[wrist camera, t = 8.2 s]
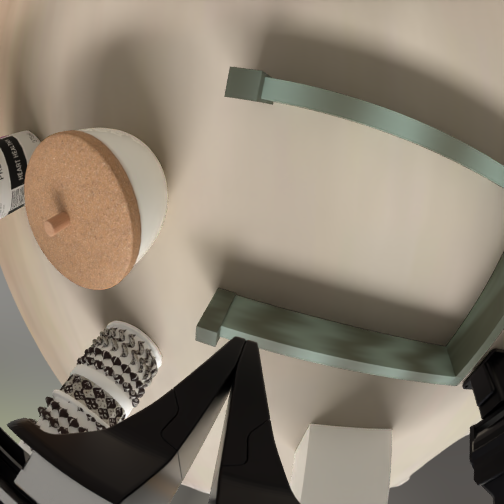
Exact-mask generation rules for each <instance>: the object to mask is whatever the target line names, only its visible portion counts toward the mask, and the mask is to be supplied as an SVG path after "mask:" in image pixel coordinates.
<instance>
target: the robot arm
mask: <svg viewBox="0 0 504 504" xmlns="http://www.w3.org/2000/svg"><path fill="white" fill-rule="evenodd" d="M462 386H463V389H472V390H473V393H474V396H475V400H476V403H477V406H479V410H480V414H481V418H482V419H483V420H481V421H480V422H478V423H477V424H475V425H473V426H471V427H470V464H471V465H472V467H473V469H474V481H475V482H476V483H477V485H481V486H482V487H483V488H484V489H485V490H486V491H487V492H488V493H489V494H491V496H492V497H493V504H504V350H499V349H494V350H492V351H491V352H490V354H489V355H488V356H487V357H486V359H485V360H484V361H483V362H482V363H481V365H480V366H479V367H478V368H477V369H476V370H475V371H474V373H473V374H472V375H471V376H470V377H469V378H468V379H467V380H466V381H465V382H464V384H463V385H462ZM230 390H231V391H230ZM229 392H230V395H229ZM228 395H229V400H228V405H227V410H226V415H225V420H224V425H223V431H222V436H221V441H220V446H219V451H218V456H217V461H216V466H215V471H214V476H213V482H212V487H211V492H210V497H209V502H208V504H300V502H299V501H298V500H297V498H296V497H295V495H294V494H293V492H292V490H291V488H290V485H289V483H288V480H287V477H286V475H285V472H284V469H283V466H282V463H281V460H280V457H279V454H278V451H277V448H276V444H275V440H274V436H273V431H272V426H271V421H270V415H269V409H268V403H267V397H266V391H265V385H264V379H263V373H262V366H261V360H260V354H259V348H258V343H257V342H255V341H251V340H246V339H244V338H241V337H238V336H235V337H233V338H232V339H231V340H230V341H229V342H227V343H226V344H225V345H224V346H223V347H222V348H221V349H219V350H218V351H217V352H216V353H215V354H214V355H212V356H211V357H210V358H209V359H208V360H206V361H205V362H204V363H203V364H202V365H201V366H199V367H198V368H197V369H196V370H195V371H193V372H192V373H191V374H190V375H189V376H187V377H186V378H185V379H184V380H182V381H181V382H180V383H179V384H178V385H176V386H175V387H174V388H173V389H171V390H170V391H169V392H167V393H166V394H165V395H164V396H162V397H161V398H160V399H158V400H157V401H155V402H154V403H152V404H151V405H149V406H148V407H146V408H144V409H143V410H141V411H139V412H137V413H136V414H134V415H132V416H130V417H129V418H127V419H125V420H123V421H121V422H119V423H118V424H116V425H114V426H111V427H109V428H106V429H102V430H97V431H89V432H79V433H68V434H51V433H47V432H45V431H43V430H41V429H40V428H39V427H37V426H36V425H35V424H34V423H32V422H31V421H30V420H29V419H27V418H22V419H17V420H14V421H11V422H10V423H8V424H7V426H8V427H9V428H10V429H11V430H12V431H13V432H14V433H15V434H16V435H17V436H18V437H19V438H20V439H21V440H23V441H24V442H25V443H26V444H27V445H28V446H29V447H31V448H32V449H33V452H32V454H31V455H29V454H28V453H27V452H26V451H25V450H24V449H23V448H21V447H20V446H19V445H18V444H17V443H16V442H15V441H14V440H13V439H12V438H11V437H10V436H9V435H8V434H7V433H6V432H5V431H4V430H3V429H2V428H1V427H0V504H169V503H170V502H171V500H172V498H173V497H174V495H175V493H176V491H177V490H178V488H179V486H180V485H181V483H182V481H183V479H184V477H185V476H186V474H187V472H188V470H189V468H190V467H191V465H192V463H193V461H194V459H195V458H196V456H197V454H198V452H199V450H200V448H201V447H202V445H203V443H204V441H205V439H206V437H207V435H208V433H209V432H210V430H211V428H212V426H213V424H214V422H215V420H216V418H217V416H218V414H219V412H220V410H221V409H222V407H223V405H224V403H225V401H226V399H227V397H228Z"/></svg>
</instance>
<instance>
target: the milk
mask: <svg viewBox="0 0 504 504" xmlns="http://www.w3.org/2000/svg"><path fill="white" fill-rule="evenodd" d="M391 456H392V429H372V428H353V427H340V426H329V425H320V424H312V423H310V425H309V427H308V429H307V431H306V433H305V434H304V436H303V438H302V440H301V442H300V444H299V446H298V447H297V449H296V451H295V455H294V462H293V469H292V476H291V483H290V488H291V490H292V492H293V494H294V495H295V497H296V498H297V500H298V501H299V502H300V504H387V503H388V495H389V494H388V493H389V485H390V473H391Z"/></svg>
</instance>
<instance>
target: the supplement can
mask: <svg viewBox="0 0 504 504" xmlns="http://www.w3.org/2000/svg"><path fill="white" fill-rule="evenodd" d="M40 143H41V142H40V140H39V139H38V137H36V136H35V135H34V134H33V133H31V132H30V131H28V130H27V131H21V132H17V133H14V134H10V135H7V136H4V137H1V138H0V219H1V218H3V217H5V216H6V215H8V214H10V213H12V212H14V211H15V210H17V209H19V208H21V207H23V206H25V197H24V182H25V174H26V170H27V165H28V163H29V160H30V158H31V156H32V154H33V152H34V150H35V149H36V147H37V146H38V145H39V144H40Z"/></svg>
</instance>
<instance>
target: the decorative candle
mask: <svg viewBox="0 0 504 504" xmlns="http://www.w3.org/2000/svg"><path fill="white" fill-rule="evenodd" d="M77 362H78V363H77V365H76V367H75V368H74V369H73V370H72V372H71V373H70V377H69V379H68V380H67V381H66V382H65V384H64V385H63V386H62V388H61V389H60V390H56V389H54V391H53V398H54V399H53V398H50V397H46V402H47V406H49V407H48V408H44V407H39V408H38V412H39V414H40V416H41V418H40V419H39V420H38V421H35V420H33V419H29V420H30V421H31V422H32V423H34V424H35V425H36V426H37V427H39V428H40V429H41V430H43V431H45V432H47V433H51V434H68V433H79V432H89V431H97V430H102V429H106V428H109V427H111V426H114V425H116V424H118V423H119V422H121V421H123V420H124V419H125V418H126V417H128V415H129V413H130V412H131V410H132V408H133V407H136V406H137V404H139V399H138V398H141V397H142V396H143V394H144V393H145V390H144V388H147V387H148V386H149V385H150V384H151V382H152V378H153V377H154V376H155V375H156V374H157V371H158V368H159V367H160V366H161V364H162V355H161V353H160V351H159V349H158V347H157V346H156V344H155V343H154V342H153V341H152V340H151V339H150V338H149V336H147V335H146V334H145V333H143V332H142V331H141V330H140V329H138V328H137V327H135V326H133V325H131V324H128V323H126V322H122V321H116V320H115V321H113V322H110V323H108V325H107V327H106V328H105V329H104V332H102V331H101V332H100V336H99V337H97V340H96V339H94V340H93V345H91V347H90V348H89V349H86V350H85V354H84V356H82V357H81V358H78V360H77ZM18 445H19V446H20V447H21V448H23V449H24V450H25V451H26V452H27V453H28V454H29V455H31V454H32V452H33V449H32V448H31V447H29V446H28V445H27V444H26V443H25V442H24V441H23V440H21V441H20V442H19V444H18Z"/></svg>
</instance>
